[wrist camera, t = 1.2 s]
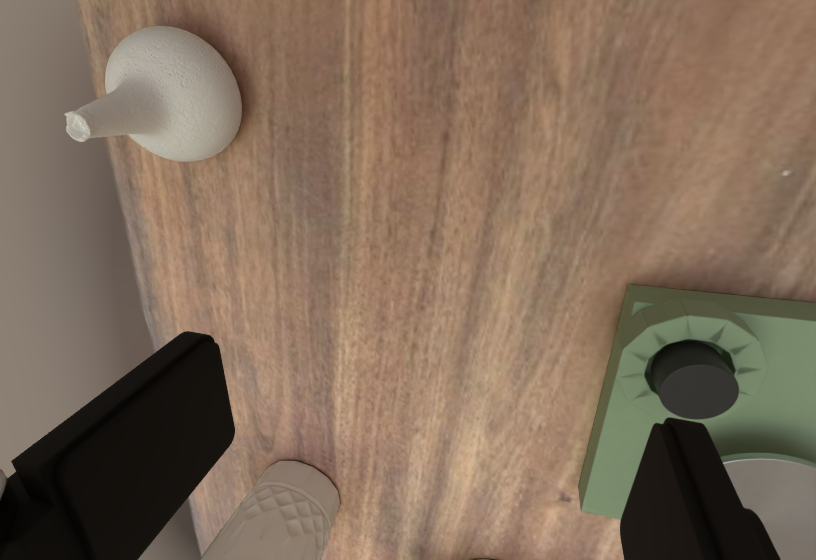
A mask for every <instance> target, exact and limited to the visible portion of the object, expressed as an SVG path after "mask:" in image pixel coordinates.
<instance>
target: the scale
mask: <svg viewBox="0 0 816 560" xmlns="http://www.w3.org/2000/svg"><path fill="white" fill-rule="evenodd" d="M690 341H691V342H700V343H703V344H706V345H709V346H711V347H713V348H714V349H716V350H717V351H718V352H719V353H720V354H721V356H722V357H723V359H724V360H725V362H726V364H727V365H728V367H729V369H730V370H731V372H732V373H733V375H734V377H735V378H736V380H737V382H738V385H739V395H738V398H737V400H736V402H735V403H734V405H733V406H732V407H731V408H730V409H729V410H727V411H726V412H724V413H723V414H721V415H718V416H716V417H713V418H708V419H700V420H694V419H686V418H682V417H679V416H677V415H675V414H673V413H671V412H670V411H668V410H667V409H666V408H665V407H664V406H663V404H662V403H661V401H660V398H659V395H658V393H657V390H656V387H655V384H654V381H653V379H652V376H651V364H652V362H653V359H654V358H655V356H656V355H657V354H658V353H659V352H660V351H661V350H663V349H664V348H666V347H668V346H670V345H672V344H676V343H680V342H690ZM668 417H671V418H677V419H682V420H688V421H694V422H699V423H702V424H704V425H705V427H706V428H707V430H708V432H709V434H710V436H711V438H712V441H713V443H714V445H715V447H716V449H717V451H718V453H719V456H720V457H722V456H727V455H732V454H740V453H775V454H783V455H788V456H793V457H798V458H801V459H804V460H807V461H810V462H813V463H815V464H816V303H809V302H799V301H789V300H779V299H769V298H760V297H750V296H740V295H730V294H720V293H710V292H700V291H690V290H680V289H671V288H661V287H651V286H641V285H631V284H628V286H627V290H626V294H625V298H624V302H623V306H622V310H621V314H620V318H619V322H618V326H617V331H616V335H615V339H614V343H613V347H612V351H611V355H610V359H609V363H608V367H607V371H606V375H605V380H604V384H603V388H602V392H601V396H600V400H599V404H598V408H597V412H596V416H595V420H594V424H593V428H592V433H591V437H590V441H589V445H588V449H587V453H586V457H585V461H584V465H583V469H582V473H581V477H580V482H579V486H578V488H579V498H580V508H581V511H582V512H587V513H592V514H597V515H601V516H606V517H611V518H616V519H621V517H622V514H623V511H624V508H625V505H626V502H627V499H628V497H629V494H630V491H631V488H632V485H633V482H634V479H635V476H636V473H637V470H638V467H639V464H640V461H641V458H642V455H643V453H644V450H645V447H646V444H647V441H648V438H649V435H650V432H651V429H652V427H653V425H654V424H655V423H660V424H663V423H664V420H665V419H666V418H668Z"/></svg>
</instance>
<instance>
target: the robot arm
mask: <svg viewBox="0 0 816 560" xmlns="http://www.w3.org/2000/svg"><path fill="white" fill-rule="evenodd" d="M234 435H235V427H234V422H233V416H232V411H231V406H230V401H229V396H228V390H227V385H226V380H225V375H224V369H223V364H222V359H221V354H220V348H219V346H218V344H217V343H215V342H214V339H213V338H212V337H211V336H210V335H206V334H200V333H195V332H189V331H187V332H183V333H181V334H180V335H178V336H177V337H176V338H174V339H173V340H172V341H170V342H169V343H168V344H166V345H165V346H164V347H162V348H161V349H160V350H158V351H157V352H156V353H154V354H153V355H152V356H150V357H149V358H148V359H146V360H145V361H144V362H142V363H141V364H140V365H138V366H137V367H136V368H135V369H133V370H132V371H130V372H129V373H128V374H126V375H125V376H124V377H122V378H121V379H120V380H118V381H117V382H116V383H114V384H113V385H112V386H110V387H109V388H108V389H106V390H105V391H104V392H103V393H101V394H100V395H98V396H97V397H96V398H94V399H93V400H92V401H91V402H89V403H88V404H87V405H85V406H84V407H83V408H81V409H80V410H79V411H77V412H76V413H75V414H73V415H72V416H71V417H69V418H68V419H67V420H66V421H64V422H63V423H61V424H60V425H59V426H57V427H56V428H55V429H53V430H52V431H51V432H49V433H48V434H47V435H45V436H44V437H43V438H41V439H40V440H39V441H38V442H36V443H35V444H33V445H32V446H31V447H29V448H28V449H27V450H25V451H24V452H23V453H21V454H20V455H19V456H18V457H16V458H15V459H14V460H12V461H11V462H12V464H13V466H14V468H15V470H16V472H15V473H14V474H13V475H11V476H10V477H9V478H8V479H7V477H6V475H5V473H4V472H3V471H2V470H0V560H137V559H138V558H139V557H140V556H141V555H142V553H143V552H144V551H145V550H146V549H147V547H148V546H149V545H150V544H151V542H152V541H153V540H154V539H155V537H156V536H157V535H158V534H159V532H160V531H161V530H162V529H163V528H164V526H165V525H166V524H167V522H168V521H169V520H170V519H171V518H172V516H173V515H174V514H175V513H176V511H177V510H178V509H179V508H180V507H181V505H182V504H183V503H184V502H185V500H186V499H187V498H188V497H189V495H190V494H191V493H192V492H193V490H194V489H195V488H196V487H197V486H198V484H199V483H200V482H201V481H202V479H203V478H204V477H205V476H206V474H207V473H208V472H209V471H210V469H211V468H212V467H213V466H214V465H215V463H216V462H217V461H218V460H219V458H220V457H221V456H222V455H223V453H224V452H225V451H226V450H227V448H228V447H229V446H230V444H231V443H232V441H233V438H234ZM620 536H621V543H622V548H623V554H624V560H781V559H780V557H779V555H778V553H777V551H776V549H775V547H774V545H773V543H772V541H771V539H770V537H769V535H768V533H767V531H766V529H765V527H764V525H763V523H762V521H761V520H760V518H759V517H758V515H757V514H756V513H755V512H754V511H752V510H751V509H747V508H744V507H743V505H742V503H741V501H740V499H739V496H738V494H737V492H736V490H735V488H734V486H733V484H732V481H731V479H730V477H729V475H728V473H727V471H726V469H725V466H724V464H723V462H722V460H721V458H720V456H719V453H718V451H717V449H716V447H715V445H714V443H713V441H712V438H711V436H710V434H709V432H708V430H707V428H706V427H705V425H704V424H702V423H699V422H694V421H688V420H682V419H677V418H671V417H668V418H666V419H665V420H664V423H663V424H660V423H655V424H654V425H653V427H652V429H651V432H650V435H649V438H648V441H647V444H646V447H645V450H644V453H643V455H642V458H641V461H640V464H639V467H638V470H637V473H636V476H635V479H634V482H633V485H632V488H631V491H630V494H629V497H628V499H627V502H626V505H625V508H624V511H623V514H622V517H621V523H620Z"/></svg>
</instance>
